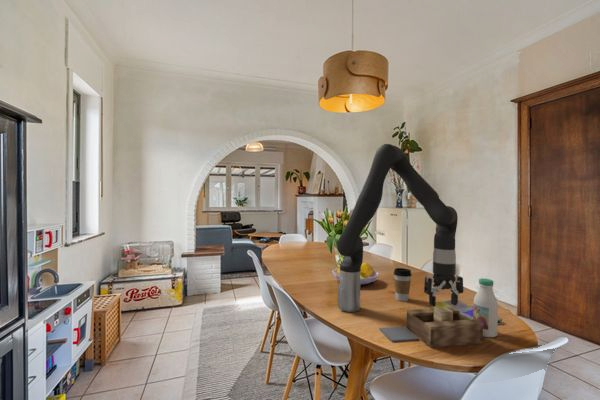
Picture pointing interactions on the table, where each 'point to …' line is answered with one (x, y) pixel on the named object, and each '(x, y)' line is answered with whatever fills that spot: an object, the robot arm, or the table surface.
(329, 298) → the table surface
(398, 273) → the coffee cup
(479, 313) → the milk bottle
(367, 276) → the fruit bowl
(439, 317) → the maple block
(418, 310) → the walnut box
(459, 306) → the dish towel
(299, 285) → the table surface
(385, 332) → the slate pad
